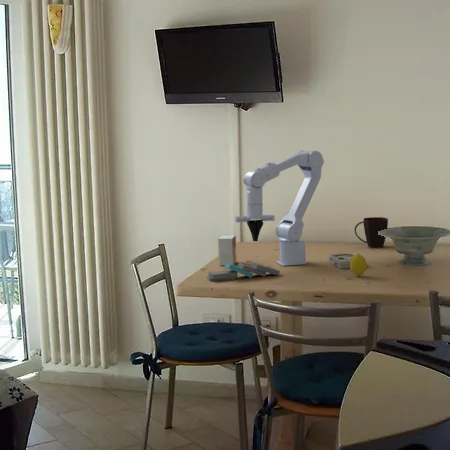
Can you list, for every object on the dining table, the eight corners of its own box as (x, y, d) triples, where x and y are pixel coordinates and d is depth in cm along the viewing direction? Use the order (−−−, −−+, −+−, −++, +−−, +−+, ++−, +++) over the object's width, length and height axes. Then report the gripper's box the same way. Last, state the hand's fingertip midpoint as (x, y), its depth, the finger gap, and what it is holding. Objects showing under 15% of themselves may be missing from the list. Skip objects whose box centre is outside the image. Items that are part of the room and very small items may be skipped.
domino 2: (231, 273, 243) (206, 275, 241) (235, 276, 238) (209, 278, 236) (231, 278, 243) (207, 280, 241) (235, 281, 238) (209, 283, 236)
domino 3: (261, 269, 245) (238, 262, 242) (266, 272, 240) (243, 264, 237) (259, 274, 245) (237, 266, 242) (264, 276, 240) (242, 269, 237)
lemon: (357, 279, 232) (356, 255, 231) (346, 276, 237) (346, 253, 236) (369, 277, 234) (369, 254, 233) (359, 274, 239) (359, 251, 238)
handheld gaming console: (340, 260, 248) (328, 253, 263) (340, 270, 249) (328, 262, 263) (364, 259, 249) (351, 251, 264) (364, 268, 250) (351, 260, 265)
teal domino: (248, 271, 243) (226, 261, 241) (253, 273, 239) (230, 264, 236) (246, 275, 243) (224, 266, 241) (251, 277, 239) (228, 268, 236)
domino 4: (274, 268, 246) (252, 262, 243) (280, 271, 241) (257, 264, 238) (273, 272, 246) (251, 266, 243) (278, 275, 241) (255, 269, 238)
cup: (390, 248, 286) (390, 220, 284) (356, 249, 286) (356, 221, 284) (384, 244, 296) (384, 216, 294) (352, 245, 296) (352, 218, 294)
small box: (233, 265, 261) (232, 238, 259) (218, 265, 262) (217, 238, 261) (236, 261, 269) (236, 235, 267) (222, 261, 270) (222, 235, 268)
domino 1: (232, 269, 242) (208, 271, 240) (237, 272, 238) (212, 274, 235) (232, 274, 243) (208, 276, 240) (237, 276, 238) (213, 279, 235)
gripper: (270, 202, 256) (271, 238, 258) (232, 203, 253) (233, 240, 255) (276, 204, 250) (276, 241, 251) (237, 205, 247) (238, 243, 248)
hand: (255, 240), depth 253 cm, fingers closed
